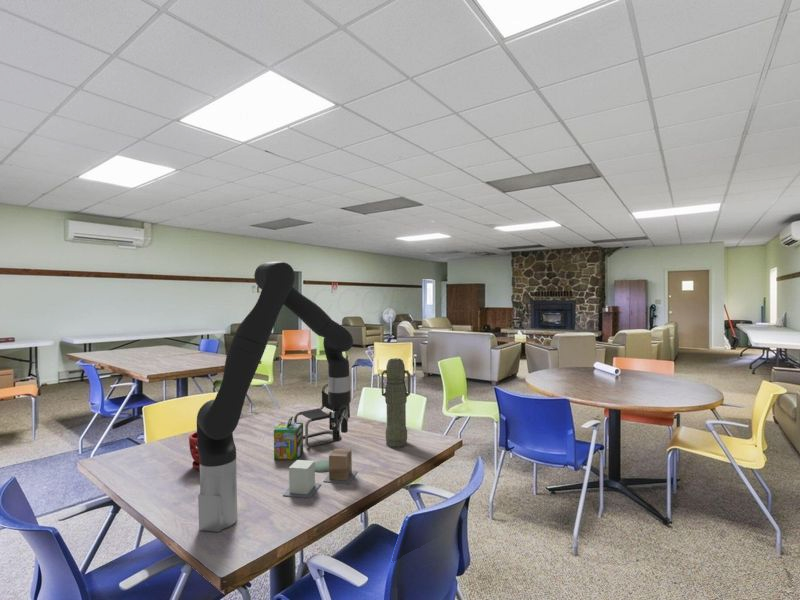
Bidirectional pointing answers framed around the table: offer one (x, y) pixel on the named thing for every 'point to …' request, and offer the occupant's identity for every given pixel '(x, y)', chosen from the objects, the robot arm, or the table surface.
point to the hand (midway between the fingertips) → (340, 436)
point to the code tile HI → (303, 494)
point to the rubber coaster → (321, 466)
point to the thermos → (396, 403)
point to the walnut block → (340, 464)
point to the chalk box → (288, 440)
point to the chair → (316, 418)
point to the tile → (341, 480)
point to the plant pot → (194, 450)
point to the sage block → (301, 476)
